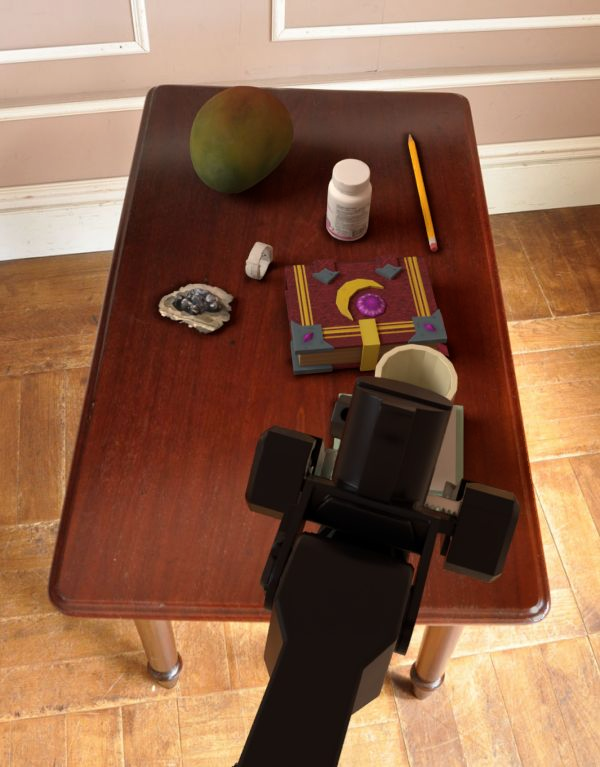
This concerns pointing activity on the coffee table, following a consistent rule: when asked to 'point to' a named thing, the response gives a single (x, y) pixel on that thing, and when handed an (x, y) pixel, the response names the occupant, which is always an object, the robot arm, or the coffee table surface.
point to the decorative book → (359, 312)
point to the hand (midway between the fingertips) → (390, 471)
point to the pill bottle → (349, 200)
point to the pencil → (422, 195)
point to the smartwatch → (259, 260)
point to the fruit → (240, 138)
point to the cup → (419, 369)
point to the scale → (444, 454)
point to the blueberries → (198, 306)
